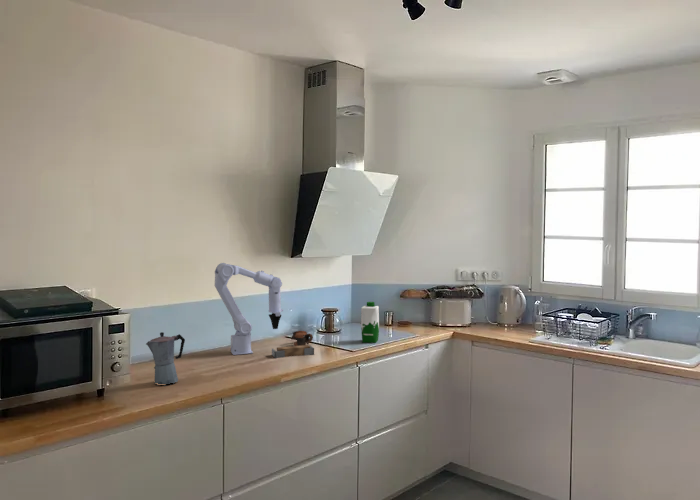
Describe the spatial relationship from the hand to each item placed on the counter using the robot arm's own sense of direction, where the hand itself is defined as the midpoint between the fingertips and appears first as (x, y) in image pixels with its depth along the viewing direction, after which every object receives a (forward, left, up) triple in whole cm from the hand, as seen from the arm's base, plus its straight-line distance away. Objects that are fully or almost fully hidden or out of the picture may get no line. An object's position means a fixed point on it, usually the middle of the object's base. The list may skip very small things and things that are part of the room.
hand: (275, 328), depth 280 cm
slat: (+5, -16, -10) cm, 20 cm away
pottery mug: (+14, +4, -10) cm, 18 cm away
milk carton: (+49, -2, -10) cm, 50 cm away
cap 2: (+12, -15, -10) cm, 22 cm away
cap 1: (-2, -15, -10) cm, 18 cm away
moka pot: (-52, -42, -10) cm, 68 cm away
